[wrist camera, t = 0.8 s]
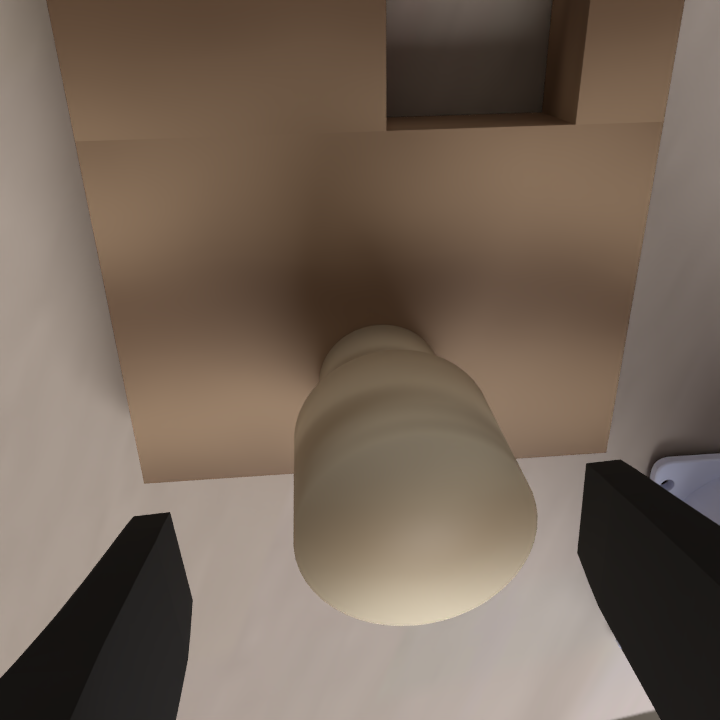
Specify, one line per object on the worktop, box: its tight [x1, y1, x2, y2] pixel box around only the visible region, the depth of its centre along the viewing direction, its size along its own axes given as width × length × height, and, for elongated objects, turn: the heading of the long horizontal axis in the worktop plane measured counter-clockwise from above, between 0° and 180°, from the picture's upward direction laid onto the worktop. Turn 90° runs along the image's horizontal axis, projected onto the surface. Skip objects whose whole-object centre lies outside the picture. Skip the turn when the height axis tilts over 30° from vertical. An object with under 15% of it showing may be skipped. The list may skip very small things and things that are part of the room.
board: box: [46, 0, 685, 484], centre depth 15 cm, size 20×14×6 cm
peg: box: [294, 325, 537, 626], centre depth 16 cm, size 5×5×6 cm
